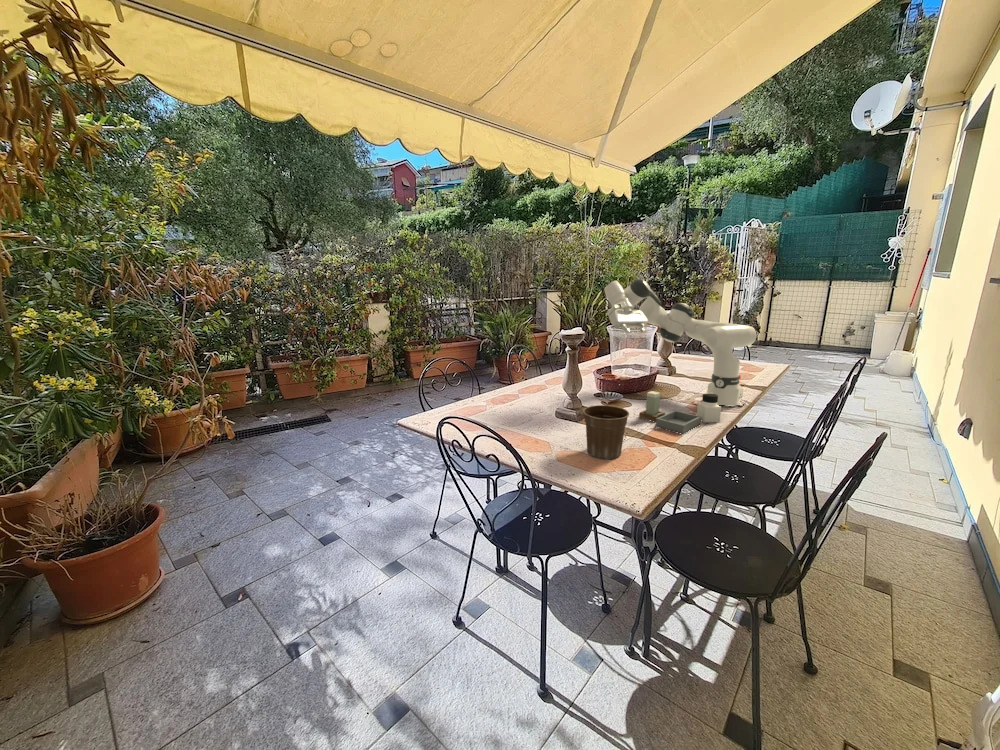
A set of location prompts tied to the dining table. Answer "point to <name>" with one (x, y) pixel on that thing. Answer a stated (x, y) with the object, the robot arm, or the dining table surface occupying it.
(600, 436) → the plant pot
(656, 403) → the green rectangular block
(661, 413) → the tray
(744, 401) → the dining table surface
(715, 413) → the medicine bottle
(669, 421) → the tray
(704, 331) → the robot arm
